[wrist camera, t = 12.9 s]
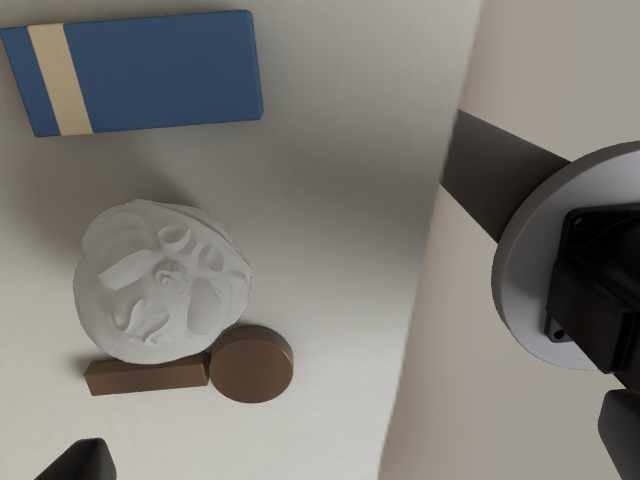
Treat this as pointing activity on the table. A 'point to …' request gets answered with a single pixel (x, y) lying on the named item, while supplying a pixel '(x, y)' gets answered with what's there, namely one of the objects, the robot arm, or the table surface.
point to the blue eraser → (136, 72)
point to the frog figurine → (158, 281)
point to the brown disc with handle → (208, 369)
